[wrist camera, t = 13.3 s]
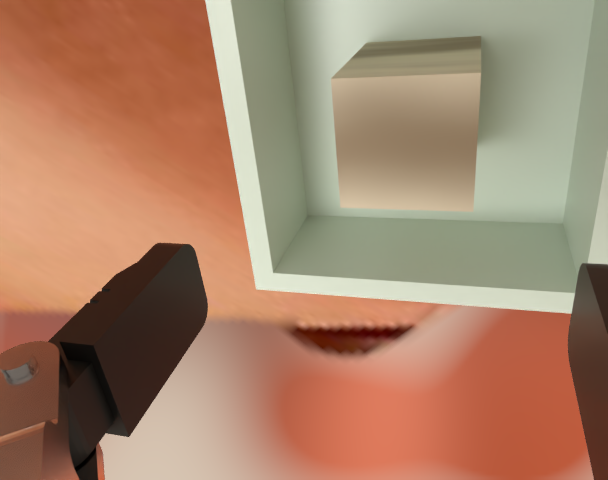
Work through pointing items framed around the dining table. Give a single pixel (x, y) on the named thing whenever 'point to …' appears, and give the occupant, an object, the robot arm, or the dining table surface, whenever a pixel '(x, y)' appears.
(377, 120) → the block
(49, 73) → the dining table surface
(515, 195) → the bin
